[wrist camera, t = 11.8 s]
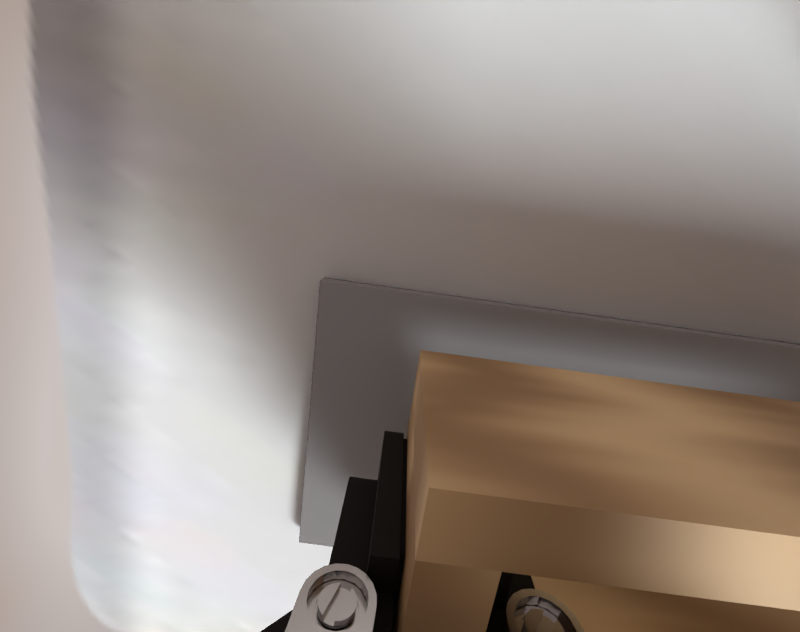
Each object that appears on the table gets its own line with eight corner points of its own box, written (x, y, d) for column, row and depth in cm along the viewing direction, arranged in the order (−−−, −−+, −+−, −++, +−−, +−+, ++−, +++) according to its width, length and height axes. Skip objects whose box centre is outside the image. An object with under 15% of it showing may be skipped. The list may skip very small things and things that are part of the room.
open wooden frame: (1036, 434, 10) (1621, 647, 5) (893, 646, 12) (1215, 940, 7) (420, 349, 10) (428, 487, 5) (383, 579, 12) (364, 834, 7)
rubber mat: (965, 368, 12) (988, 374, 11) (829, 600, 15) (843, 614, 14) (324, 277, 12) (320, 280, 11) (302, 530, 14) (298, 542, 14)
